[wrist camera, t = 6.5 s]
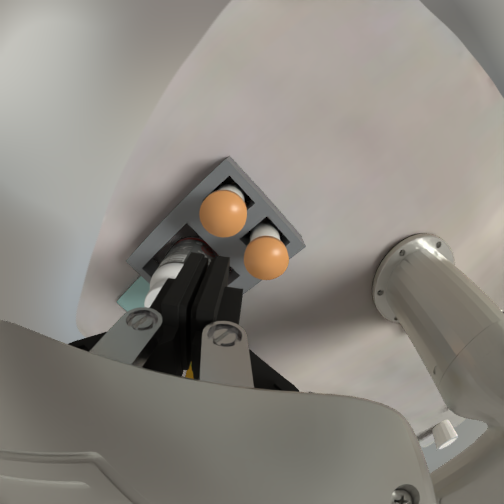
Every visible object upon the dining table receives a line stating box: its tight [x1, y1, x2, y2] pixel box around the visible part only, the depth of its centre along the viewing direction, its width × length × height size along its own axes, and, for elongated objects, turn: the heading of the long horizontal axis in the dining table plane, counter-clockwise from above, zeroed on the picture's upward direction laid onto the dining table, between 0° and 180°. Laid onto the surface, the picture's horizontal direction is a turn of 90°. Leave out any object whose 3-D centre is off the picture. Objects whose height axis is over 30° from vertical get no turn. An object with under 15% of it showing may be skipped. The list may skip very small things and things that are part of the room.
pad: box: [117, 276, 150, 312], centre depth 33 cm, size 7×7×1 cm
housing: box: [126, 156, 305, 294], centre depth 28 cm, size 11×15×3 cm
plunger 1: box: [199, 182, 247, 237], centre depth 24 cm, size 4×4×7 cm
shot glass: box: [432, 420, 458, 450], centre depth 47 cm, size 7×7×7 cm
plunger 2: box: [244, 219, 289, 280], centre depth 25 cm, size 4×4×7 cm
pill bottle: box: [144, 237, 218, 308], centre depth 26 cm, size 6×6×10 cm
